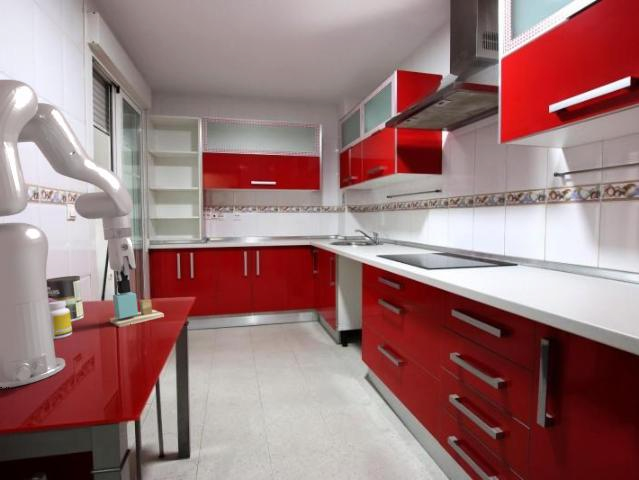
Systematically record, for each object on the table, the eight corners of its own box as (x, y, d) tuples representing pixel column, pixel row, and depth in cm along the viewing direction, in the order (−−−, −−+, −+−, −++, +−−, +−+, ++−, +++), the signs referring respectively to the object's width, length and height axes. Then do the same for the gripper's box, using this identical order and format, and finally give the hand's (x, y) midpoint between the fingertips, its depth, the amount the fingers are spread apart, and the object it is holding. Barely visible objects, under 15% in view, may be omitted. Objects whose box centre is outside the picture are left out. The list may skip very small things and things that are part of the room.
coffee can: (62, 324, 114) (57, 281, 113) (39, 324, 117) (34, 281, 116) (91, 315, 124) (87, 275, 123) (69, 315, 127) (64, 275, 126)
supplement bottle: (77, 332, 104) (73, 299, 103) (61, 339, 98) (57, 304, 98) (59, 333, 104) (56, 300, 104) (43, 339, 99) (39, 305, 98)
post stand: (163, 316, 116) (161, 292, 115) (119, 327, 107) (116, 300, 106) (152, 312, 123) (150, 289, 122) (110, 321, 114) (107, 296, 113)
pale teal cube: (138, 314, 112) (136, 293, 112) (119, 318, 109) (117, 297, 108) (132, 312, 116) (130, 292, 116) (114, 316, 113) (112, 295, 112)
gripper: (139, 233, 108) (145, 293, 110) (123, 233, 119) (129, 288, 120) (111, 235, 103) (118, 298, 104) (97, 235, 114) (104, 292, 115)
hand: (124, 292), depth 112 cm, fingers closed
